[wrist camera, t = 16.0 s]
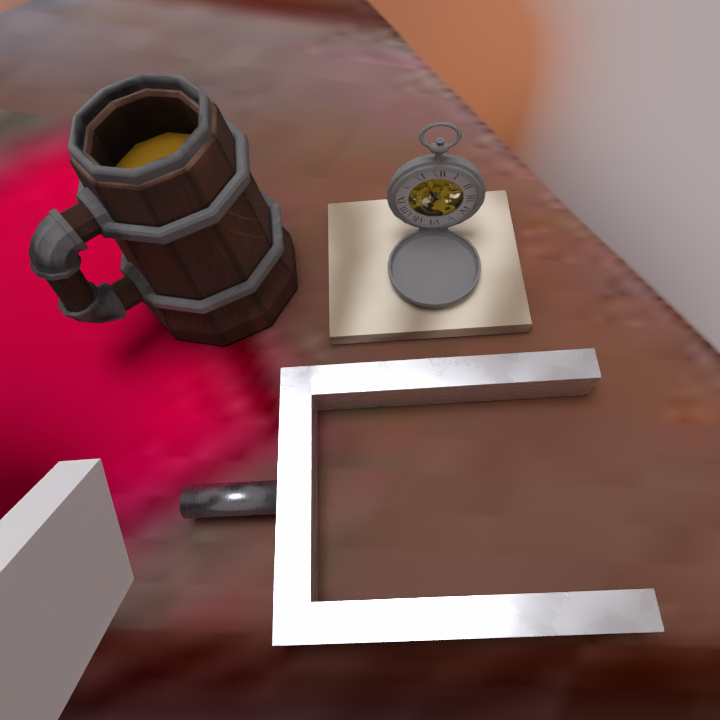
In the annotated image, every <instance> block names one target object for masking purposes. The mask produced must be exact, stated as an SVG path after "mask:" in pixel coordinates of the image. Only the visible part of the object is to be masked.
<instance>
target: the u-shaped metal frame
mask: <svg viewBox="0 0 720 720" xmlns="http://www.w3.org/2000/svg"><path fill="white" fill-rule="evenodd" d="M600 378H601V374H600V370H599V366H598V362H597V358H596V353H595V349H594V348H592V349H575V350H559V351H543V352H527V353H511V354H495V355H479V356H463V357H447V358H431V359H415V360H399V361H383V362H367V363H351V364H335V365H319V366H303V367H286V368H281V382H280V414H279V446H278V478H277V480H274V481H255V482H235V483H216V484H196V485H185V486H184V487H183V489H182V491H181V495H180V511H181V515H182V516H183V518H205V517H226V516H247V515H267V514H276V542H275V574H274V606H273V638H272V646H280V645H308V644H336V643H364V642H391V641H419V640H447V639H475V638H503V637H530V636H558V635H586V634H614V633H642V632H664V628H663V624H662V620H661V616H660V612H659V608H658V604H657V600H656V596H655V592H654V589H633V590H608V591H583V592H558V593H533V594H508V595H483V596H458V597H433V598H408V599H383V600H358V601H333V602H318V411H324V410H341V409H359V408H376V407H393V406H410V405H427V404H445V403H462V402H479V401H496V400H514V399H531V398H548V397H565V396H583V395H587V394H588V393H589V392H590V390H591V389H592V388H593V387H594V386H595V384H596V383H597V382H598V381H599V380H600Z"/></svg>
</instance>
